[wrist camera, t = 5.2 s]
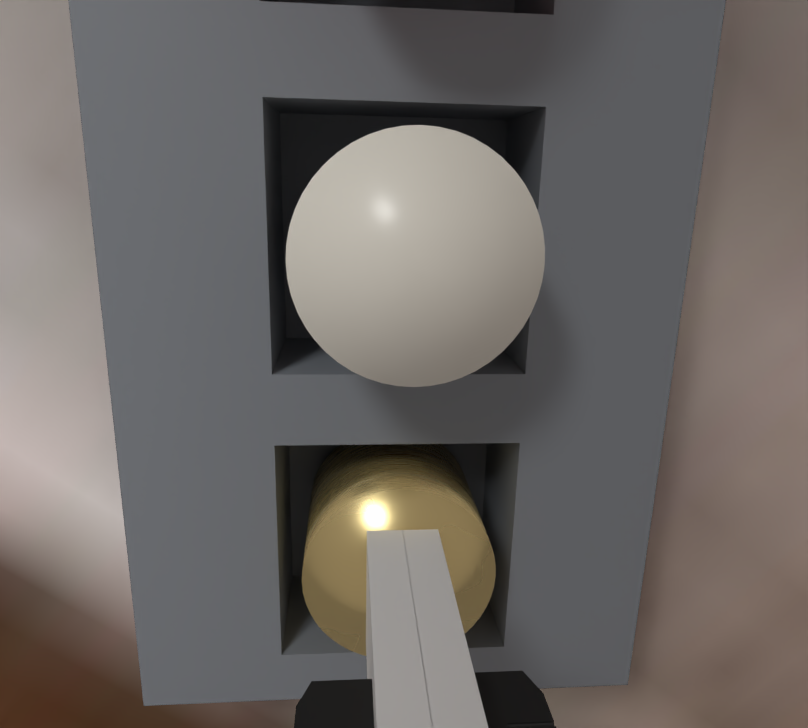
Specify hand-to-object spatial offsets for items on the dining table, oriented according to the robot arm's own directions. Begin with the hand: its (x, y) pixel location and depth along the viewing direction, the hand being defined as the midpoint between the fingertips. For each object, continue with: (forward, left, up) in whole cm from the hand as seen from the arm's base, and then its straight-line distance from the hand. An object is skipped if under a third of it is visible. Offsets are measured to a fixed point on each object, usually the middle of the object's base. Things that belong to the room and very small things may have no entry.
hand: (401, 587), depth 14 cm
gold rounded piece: (0, 0, -4) cm, 4 cm away
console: (0, +7, -5) cm, 9 cm away
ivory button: (0, +7, -2) cm, 7 cm away
